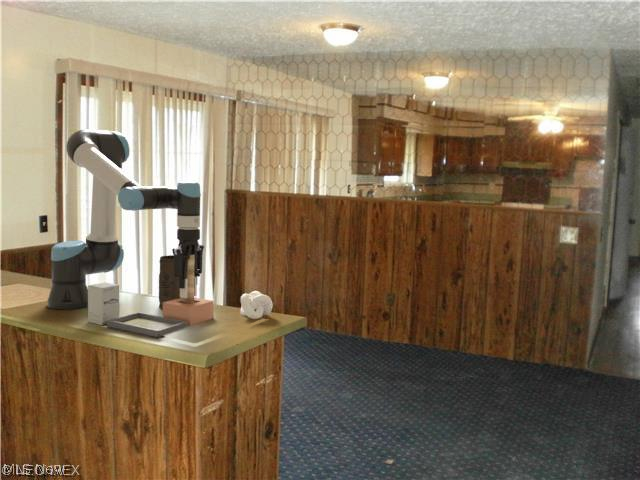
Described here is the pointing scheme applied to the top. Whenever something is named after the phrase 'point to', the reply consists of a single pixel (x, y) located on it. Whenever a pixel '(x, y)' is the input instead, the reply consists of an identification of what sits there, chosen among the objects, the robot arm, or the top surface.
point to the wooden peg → (190, 281)
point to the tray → (144, 331)
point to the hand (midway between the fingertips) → (188, 296)
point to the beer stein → (167, 281)
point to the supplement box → (103, 302)
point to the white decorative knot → (255, 305)
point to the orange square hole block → (189, 310)
